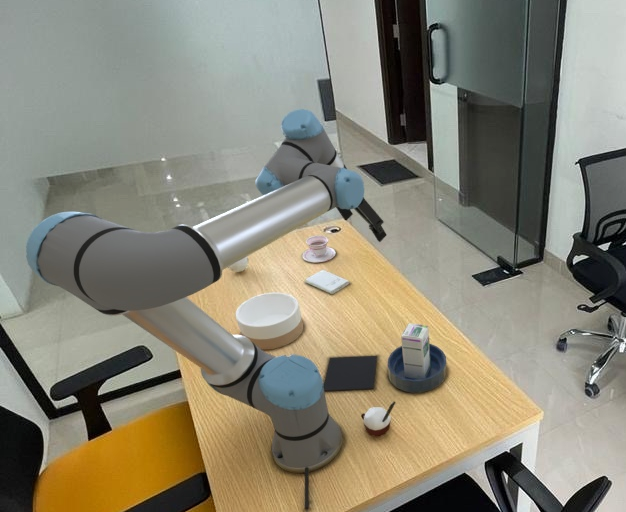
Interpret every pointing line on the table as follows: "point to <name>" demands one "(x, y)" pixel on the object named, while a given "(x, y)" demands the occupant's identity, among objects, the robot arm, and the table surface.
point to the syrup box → (416, 351)
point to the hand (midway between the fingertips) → (365, 227)
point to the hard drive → (327, 281)
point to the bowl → (270, 320)
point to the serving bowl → (417, 385)
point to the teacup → (318, 250)
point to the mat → (350, 373)
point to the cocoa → (377, 420)
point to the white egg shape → (239, 265)
